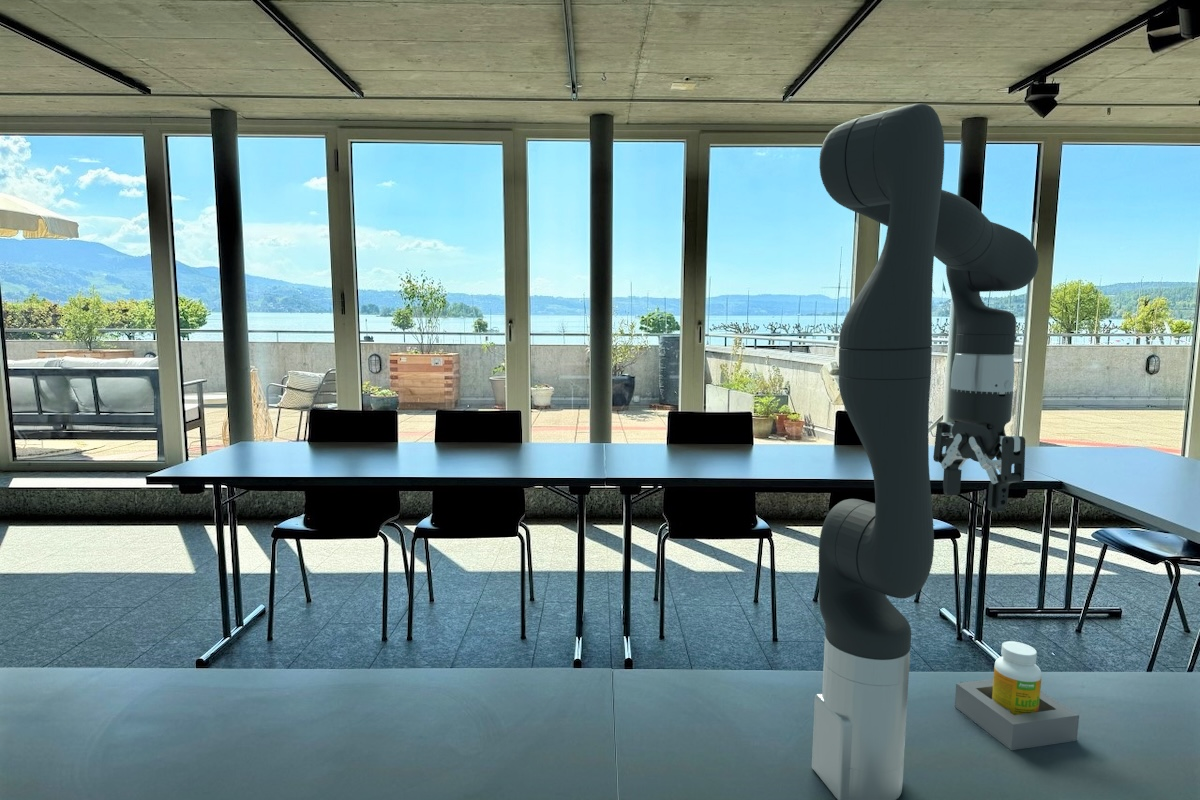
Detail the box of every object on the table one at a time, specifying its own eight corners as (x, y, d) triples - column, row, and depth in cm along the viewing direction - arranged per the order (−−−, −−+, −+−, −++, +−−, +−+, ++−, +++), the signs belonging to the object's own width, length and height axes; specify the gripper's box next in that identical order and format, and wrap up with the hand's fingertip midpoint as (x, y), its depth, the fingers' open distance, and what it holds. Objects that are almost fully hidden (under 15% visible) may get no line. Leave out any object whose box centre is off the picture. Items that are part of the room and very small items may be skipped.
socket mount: (1011, 750, 86) (1013, 724, 85) (954, 706, 96) (956, 683, 95) (1076, 740, 88) (1079, 715, 87) (1014, 698, 98) (1016, 675, 97)
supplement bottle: (1015, 731, 88) (1020, 660, 87) (981, 708, 93) (986, 641, 92) (1047, 724, 90) (1053, 654, 89) (1013, 702, 95) (1018, 636, 94)
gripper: (922, 382, 99) (916, 491, 101) (997, 392, 85) (988, 518, 87) (967, 382, 101) (960, 489, 102) (1048, 392, 87) (1037, 515, 89)
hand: (973, 502), depth 95 cm, fingers open, 8 cm apart
